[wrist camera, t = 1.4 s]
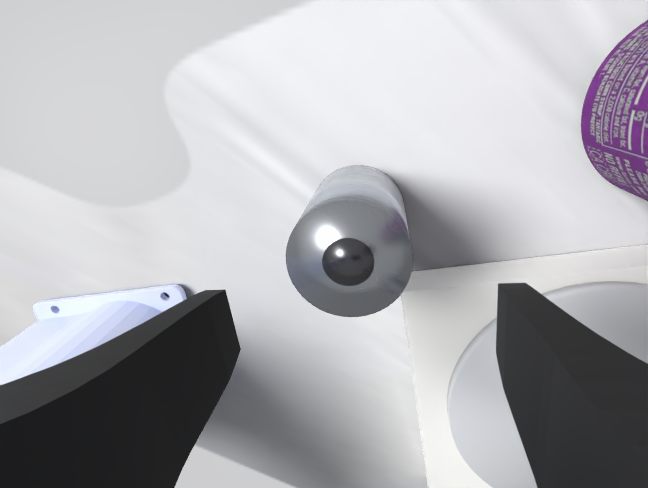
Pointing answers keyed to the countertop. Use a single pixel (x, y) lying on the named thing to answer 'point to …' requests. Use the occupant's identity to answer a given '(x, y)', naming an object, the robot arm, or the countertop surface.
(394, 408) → the countertop surface
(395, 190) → the steel spacer
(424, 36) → the countertop surface
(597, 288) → the kitchen scale
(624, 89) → the beverage can
